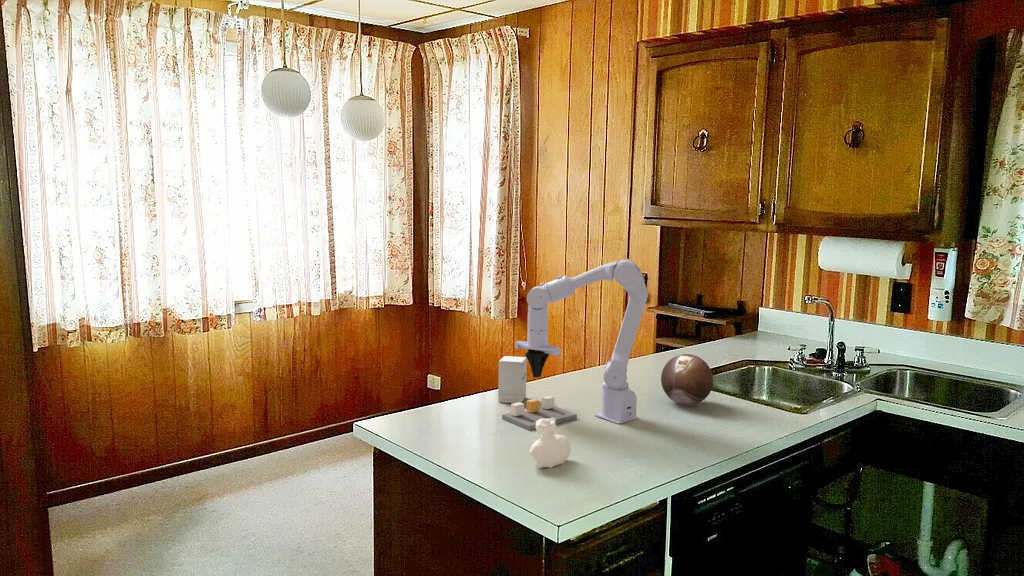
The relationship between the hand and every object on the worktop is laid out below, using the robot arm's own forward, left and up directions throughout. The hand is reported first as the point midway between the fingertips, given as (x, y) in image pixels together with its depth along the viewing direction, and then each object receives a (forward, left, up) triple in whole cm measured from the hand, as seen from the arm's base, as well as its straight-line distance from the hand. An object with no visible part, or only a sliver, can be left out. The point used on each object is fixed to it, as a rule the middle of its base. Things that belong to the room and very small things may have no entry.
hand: (537, 376), depth 206 cm
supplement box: (+14, -2, -11) cm, 18 cm away
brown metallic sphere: (-20, -41, -11) cm, 47 cm away
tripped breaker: (-2, +3, -9) cm, 10 cm away
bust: (-31, +22, -11) cm, 40 cm away
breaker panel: (-5, +3, -10) cm, 12 cm away
